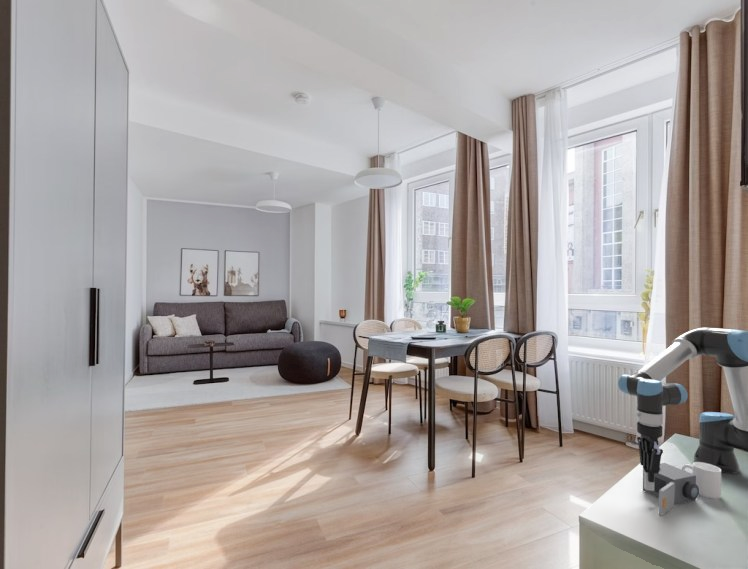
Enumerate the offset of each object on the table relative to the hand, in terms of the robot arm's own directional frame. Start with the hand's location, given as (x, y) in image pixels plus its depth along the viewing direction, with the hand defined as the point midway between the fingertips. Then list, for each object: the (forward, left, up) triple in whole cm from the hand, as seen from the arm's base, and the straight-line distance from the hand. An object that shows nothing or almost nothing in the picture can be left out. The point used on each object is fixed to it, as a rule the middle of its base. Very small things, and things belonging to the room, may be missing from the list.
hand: (649, 489), depth 143 cm
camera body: (-11, 0, -4) cm, 12 cm away
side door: (0, +7, -4) cm, 8 cm away
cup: (-27, +1, -4) cm, 27 cm away
